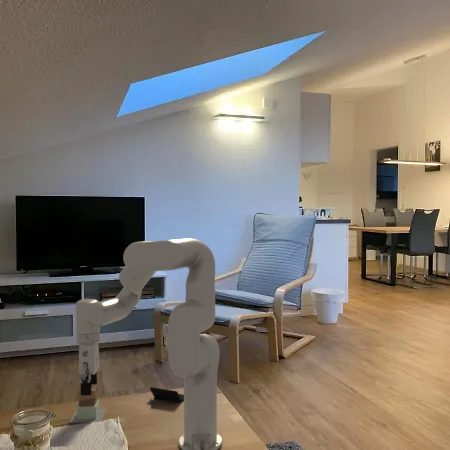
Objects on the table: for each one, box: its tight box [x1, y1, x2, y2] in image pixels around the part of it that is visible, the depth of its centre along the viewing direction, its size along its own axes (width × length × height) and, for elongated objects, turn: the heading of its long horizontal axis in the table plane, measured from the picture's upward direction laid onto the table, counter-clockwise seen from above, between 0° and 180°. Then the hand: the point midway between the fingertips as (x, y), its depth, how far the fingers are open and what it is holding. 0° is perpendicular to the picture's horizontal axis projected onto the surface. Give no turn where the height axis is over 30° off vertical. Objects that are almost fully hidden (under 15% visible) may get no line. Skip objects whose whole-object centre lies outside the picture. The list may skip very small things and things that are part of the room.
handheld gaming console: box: [149, 386, 184, 404], centre depth 168 cm, size 12×7×10 cm
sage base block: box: [76, 398, 100, 420], centre depth 153 cm, size 6×6×4 cm
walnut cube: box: [78, 384, 99, 407], centre depth 153 cm, size 5×5×5 cm
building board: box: [68, 408, 107, 424], centre depth 153 cm, size 10×10×1 cm
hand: (89, 389), depth 152 cm, fingers open, 9 cm apart
